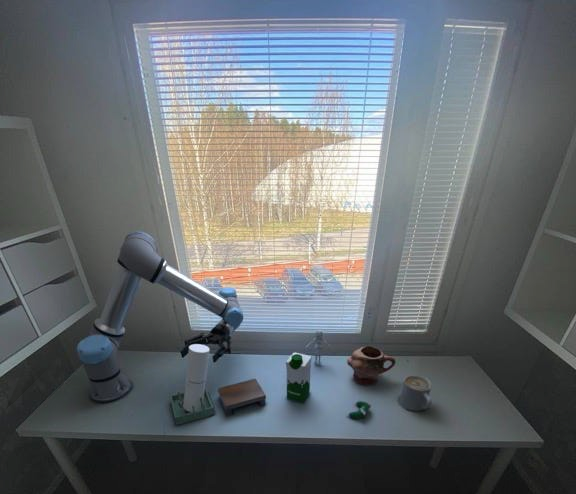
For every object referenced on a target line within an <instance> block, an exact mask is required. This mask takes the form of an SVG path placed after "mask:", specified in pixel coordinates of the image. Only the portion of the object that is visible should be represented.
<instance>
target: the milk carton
mask: <svg viewBox="0 0 576 494" xmlns="http://www.w3.org/2000/svg"><path fill="white" fill-rule="evenodd" d="M312 359H313V356H312V355H308V354H304V353H299V352H293V353H292V354H290V356H289V357H288V358H287V360H286V361H285V367H286V399H287V400H290V401H294V402H298V403H301V404H303V403H305V400H306V399H307V397H308V396H309V395H310V390H311V372H312V371H311V368H312Z"/></svg>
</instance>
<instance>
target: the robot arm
mask: <svg viewBox="0 0 576 494" xmlns="http://www.w3.org/2000/svg"><path fill="white" fill-rule="evenodd" d="M158 251H159V250H158V246H157V243H156V241H155V240H154V238H153V237H152V236H151V235H149V234H148V233H146V232H144V231H133V232H130V233H129V234H127V235H126V236H125V238H124V241H123V243H122V245H121V246H120V250H119V254H118V257H117V260H116V263H117V265H118V267H119V268H118V269H117V273H116V276H115V279H114V281H113V284H112V287H111V289H110V291H109V295H108V297H107V300H106V302H105V305H104V308H103V310H102V313H101V316H100V317H99V318H96V319H95V320H94V322H93V325H92V327H91V329H90V332H89V335H88V336H87V337H85V338H84V339H82V340H80V341H79V343H78V344H77V346H76V352H77V356H78V358H79V360H80V362H81V365H82V367H83V369H84V372H85V373H86V376H87V377H88V380H89V395H90V397H91V399H92V400H93V401H94V402H97V403H108V402H113V401H117V400H119V399H121V398H123V397H125V396H126V395H127V394H128V393H129V392H130V390H131V388H132V383H131V381H130V380H129V378H128V377H127V376H126V375H125V374H124V372H122V370H121V368H120V367H121V366H120V364H119V362H118V359H117V357H118V351H119V349H120V345H121V342H122V341H123V337H124V335H125V333H126V329H125V327H124V324H125V322H126V319H127V317H128V315H129V313H130V310H131V307H132V305H133V302H134V300H135V298H136V295H137V293H138V290H139V288H140V285H141V283H142V281H143V279H144V280H145V281H147V282H149V283H151V284H159V285H160V286H163V287H164V288H166V289H167V290H169V291H172V292H173V293H175V294H177V295H179V296H181V297H183V298H185V299H186V300H188V301H190V302H192V303H194V304H196V305H198V306H199V307H201V308H203V309H205V310H207V311H209V312H210V313H212V314H214V315H216V316H217V317H220V318H221V319H220V320H219V322H218V323H216V325H215V326H213V327H212V329H211V330H210V332H209V333H207V334H205V332H201V333H199V334H198V335H196V336H193V337H190V338H188V339H186V340H184V341H183V342H184V346H183V348H182V349H181V350H180V355H181V356H180V357H181V358H182V359H184V358H185V357H186V356H188V352H189V346H190V345H193V344H201V345H205V346H207V345H215V346H216V345H217V346H218V347H219V348H218V349H217V351H216V352H214V354H213V355H212V362H213V363H216V362H217V361H218V360H219V359H220V358H222V357H223V356H224V355H225V354H228V355H229V354H231V353H232V349H231V348H232V347H231V346H232V345H231V344H232V343H233V342H232V334H234V332H235V331H236V330H237V329H238V328H239V327H240V326H241V324H242V323H243V321H244V313H243V309H242V308H241V306H240V303H239V301H238V294H237V289H236V288H234V287H228V286H227V287H223V288H220V289H219V291H218V293H217V292H215V291H214V290H212V289H211V288H209V287H207V286H205V285H203V284H202V283H200V282H198V281H197V280H195V279H194V278H191V277H190V276H188V275H187V274H185V273H183V272H181V271H180V270H178V269H177V268H175V267H173V266H172V265H169V264H168V262H167V260H166V259H165V258H163V257H162V256H160V255H158ZM224 343H226V346H225V344H224Z"/></svg>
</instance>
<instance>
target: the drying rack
mask: <svg viewBox="0 0 576 494" xmlns="http://www.w3.org/2000/svg"><path fill="white" fill-rule="evenodd" d="M176 392H177V393H174V394H170V395H169V398H170V403H171V408H172V413H173V417H174V420H175V424H176V426H178V425H182V424H184V423H189V422H193V421H196V420H199V419H203V418H206V417H210V416H213V415H215V410H214V406H213V403H212V401H211V398H210V395H209V392H208V390H207V387H206V386H205V391H204V399H203V400H202V397H200V401H201V406H202V409H201V410H199V411H195V409H194V406H192V409H193V412H188V413H186V412H185V411H186V410H185V409H184V407H183V405H184V394H185V391H182V392H180V390H177V391H176Z"/></svg>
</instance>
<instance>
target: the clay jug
mask: <svg viewBox="0 0 576 494" xmlns="http://www.w3.org/2000/svg"><path fill="white" fill-rule="evenodd" d="M388 361H389V362H391V364H390V365H389V366H388V367H385V363H386V362H388ZM346 364H347V365H348V366H349V367H350V368H352V370H353V375H352V377H353V380H354V381H355V382H356V383H358V384H360V385H362V386H363V385H364V386H372V385H374V384H375V383H376V382H377V379H378V377H379V376H380V375H381V374H384V373H386V372H388V371H390V370H391V369H392V368H393V367H394V366H395V365H396V359H395V357H393V356H392V355H384V352H383V351H382V350H381V349H379V348H377V347H374V346H370V345H368V346H361V347H360V348H358V349H356V350H354V351H353V352H352V353H351V356H349V357H348V358H347V361H346Z"/></svg>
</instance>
